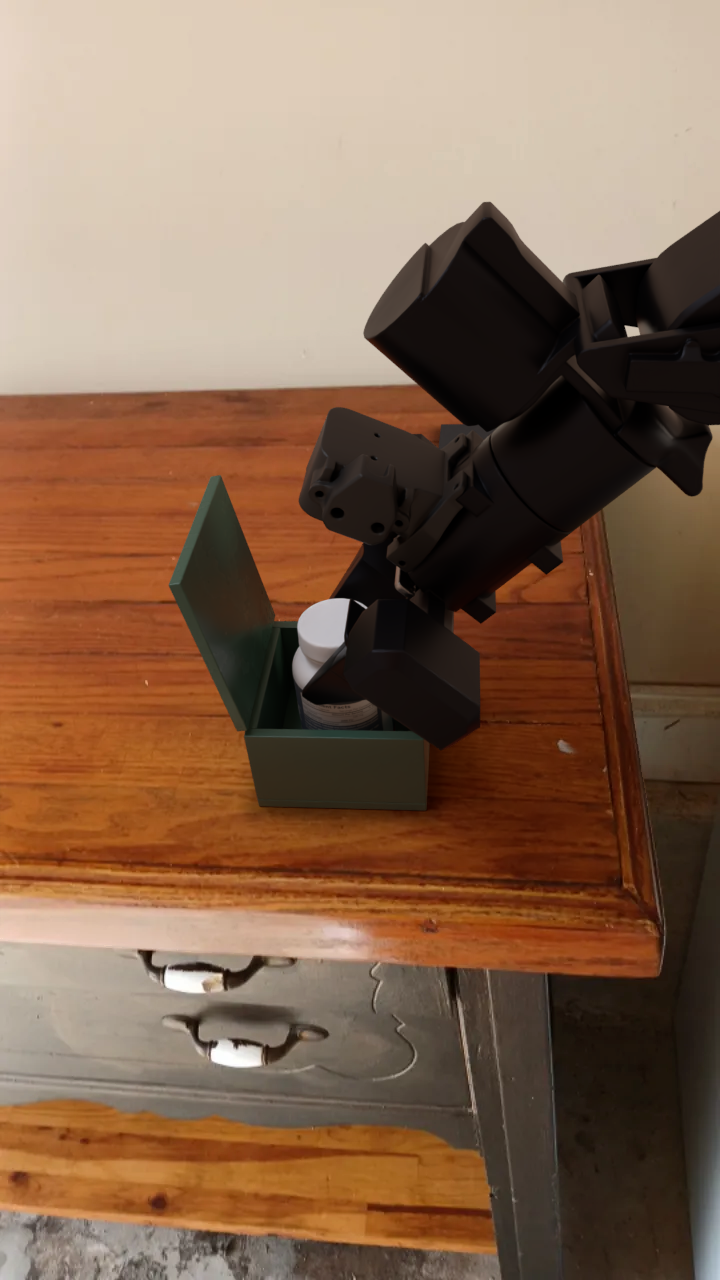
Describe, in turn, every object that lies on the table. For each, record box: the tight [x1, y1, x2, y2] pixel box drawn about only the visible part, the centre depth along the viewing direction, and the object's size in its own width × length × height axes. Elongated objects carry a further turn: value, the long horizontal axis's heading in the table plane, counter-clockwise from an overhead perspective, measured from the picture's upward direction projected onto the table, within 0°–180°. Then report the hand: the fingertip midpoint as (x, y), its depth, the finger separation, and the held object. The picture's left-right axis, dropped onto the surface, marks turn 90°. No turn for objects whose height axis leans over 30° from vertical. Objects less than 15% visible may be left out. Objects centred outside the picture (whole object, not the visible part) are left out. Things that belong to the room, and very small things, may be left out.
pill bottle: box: [292, 598, 395, 731], centre depth 52 cm, size 5×5×9 cm
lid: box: [168, 474, 276, 732], centre depth 49 cm, size 10×9×1 cm
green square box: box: [243, 620, 431, 812], centre depth 54 cm, size 9×9×6 cm
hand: (315, 661), depth 51 cm, fingers closed on pill bottle, 5 cm apart
